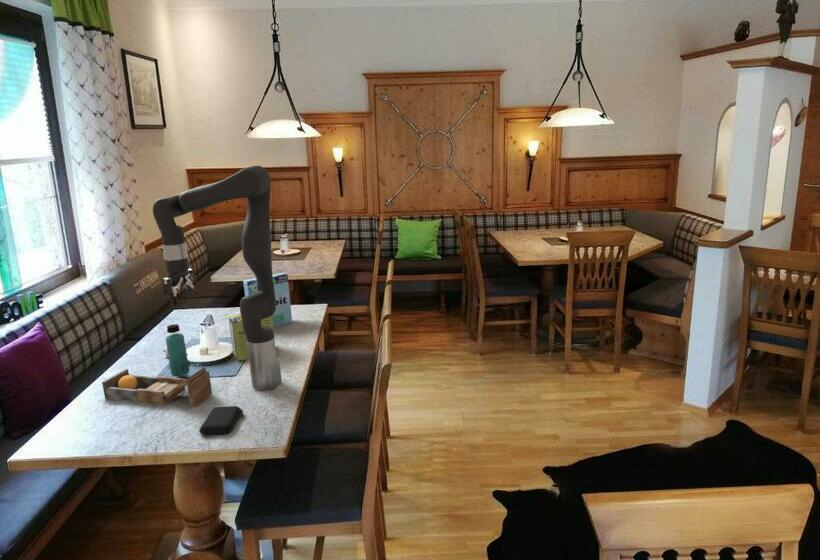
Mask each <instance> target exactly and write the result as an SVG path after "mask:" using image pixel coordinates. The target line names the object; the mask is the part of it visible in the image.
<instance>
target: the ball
mask: <svg viewBox="0 0 820 560" xmlns="http://www.w3.org/2000/svg"><path fill="white" fill-rule="evenodd" d="M130 375H131V374H129V375H126V376H124V377H122V378H121V379H120V380H119V382H118V387H119V388H126V389H136V387H137V380H136V378H135V377H133V376H130Z"/></svg>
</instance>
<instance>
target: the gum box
mask: <svg viewBox="0 0 820 560" xmlns="http://www.w3.org/2000/svg"><path fill="white" fill-rule="evenodd" d="M272 276H273V284H274V291H275V298H276V310H275V313H274V314H273V315H272V320H273V328H274V327H277V326H282V325H286V324H290V323H291V324H292V323H293V315H292V307H291V306H292V305H291V298H290V285H289V275H288V273H286V272H280V273H274V274H272ZM243 289H244V290H243V291H244V297H245V296H247V295H251V294H254V293H257V280H256V277H254V278H250V279H249V278H248V279H244V280H243Z"/></svg>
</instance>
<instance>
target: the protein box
mask: <svg viewBox="0 0 820 560" xmlns="http://www.w3.org/2000/svg"><path fill="white" fill-rule="evenodd" d="M260 321H261V326H263V327H270V328H272V329H273V331H274V332H275V330H274V327H273V320H272V316H270V317H267V318H265V319H262V320H260ZM228 323H229V329H230V338H231V339H230V340H231V346H232V347H231V348H232V353H233V352H234V353H233V355H234V357H235V359H236V361H237V362H240V361H239V360H241V361H245V360H249V355H248V347H247V339H246V335H245V333H244V330H243V324H242V319H241V314H236V315H232V316H228ZM275 348H277V347H276V346H275Z"/></svg>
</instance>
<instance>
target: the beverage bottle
mask: <svg viewBox="0 0 820 560" xmlns="http://www.w3.org/2000/svg"><path fill="white" fill-rule="evenodd" d="M166 329H167V333H168V335H167V336H166V337H165V342H166V343H165V345H166V349H167V350H168V356H169V359H168V363H169V371H170V373H171V377H174V378H180V377H184V376H186V375H188V374H189V373H190V363H189V360H188V355H187V354H188V353H187V346H186V342H185V336H184V334H183V333H181V332H180V326H179V324H175V323H173V324H170V325H167V327H166Z"/></svg>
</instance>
